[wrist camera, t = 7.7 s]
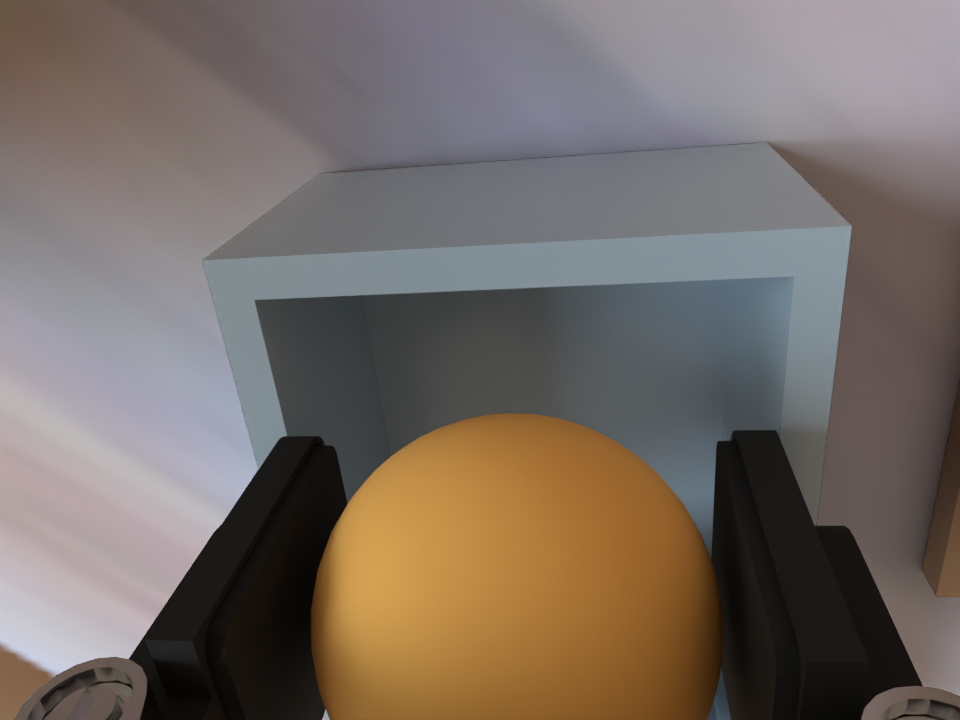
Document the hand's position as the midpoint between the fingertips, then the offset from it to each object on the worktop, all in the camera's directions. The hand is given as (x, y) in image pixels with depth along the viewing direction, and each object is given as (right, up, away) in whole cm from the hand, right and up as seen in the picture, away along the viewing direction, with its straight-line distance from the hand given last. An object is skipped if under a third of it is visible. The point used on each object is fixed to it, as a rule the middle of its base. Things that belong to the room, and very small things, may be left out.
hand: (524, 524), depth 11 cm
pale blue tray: (+1, 0, +6) cm, 6 cm away
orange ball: (0, -1, -1) cm, 2 cm away
